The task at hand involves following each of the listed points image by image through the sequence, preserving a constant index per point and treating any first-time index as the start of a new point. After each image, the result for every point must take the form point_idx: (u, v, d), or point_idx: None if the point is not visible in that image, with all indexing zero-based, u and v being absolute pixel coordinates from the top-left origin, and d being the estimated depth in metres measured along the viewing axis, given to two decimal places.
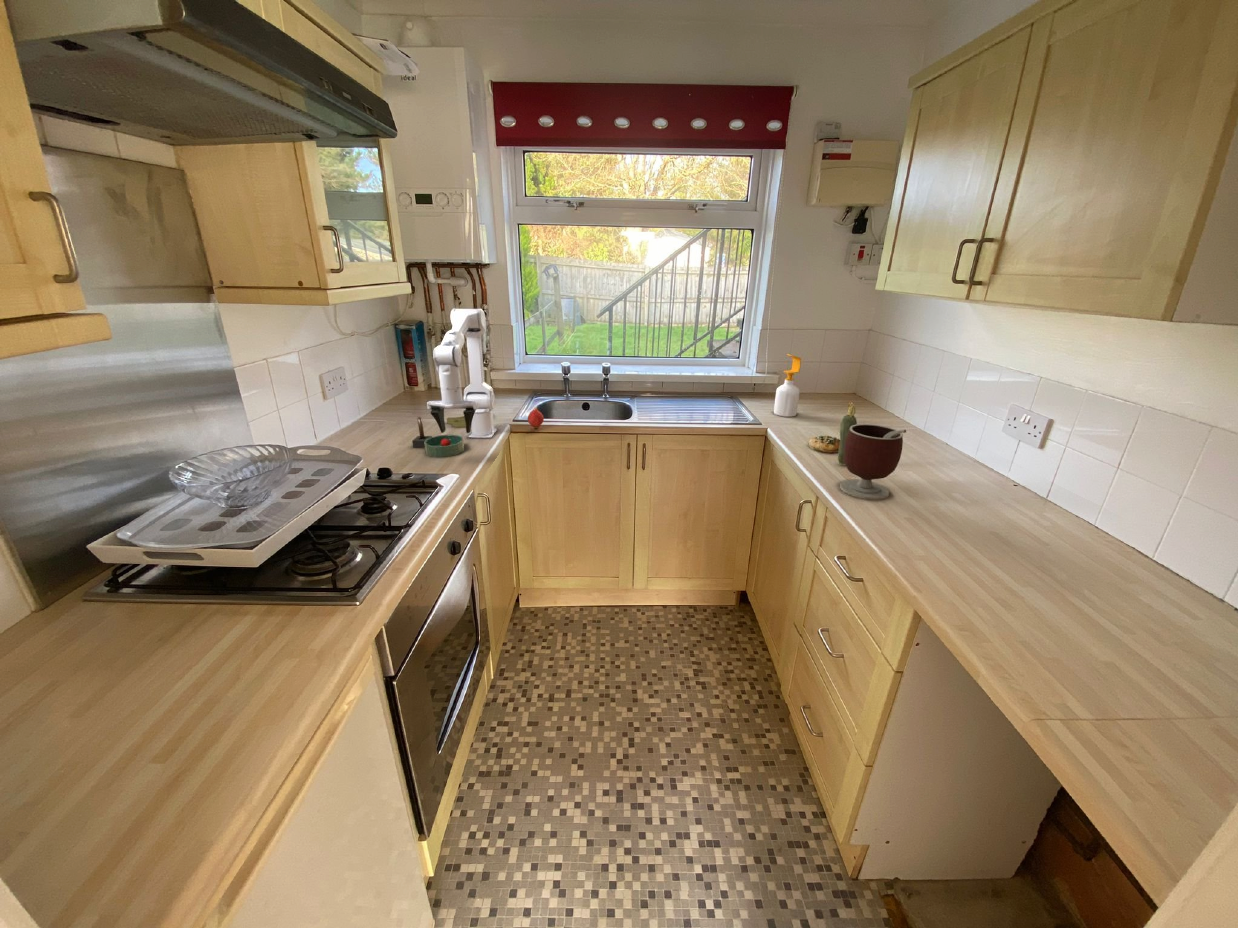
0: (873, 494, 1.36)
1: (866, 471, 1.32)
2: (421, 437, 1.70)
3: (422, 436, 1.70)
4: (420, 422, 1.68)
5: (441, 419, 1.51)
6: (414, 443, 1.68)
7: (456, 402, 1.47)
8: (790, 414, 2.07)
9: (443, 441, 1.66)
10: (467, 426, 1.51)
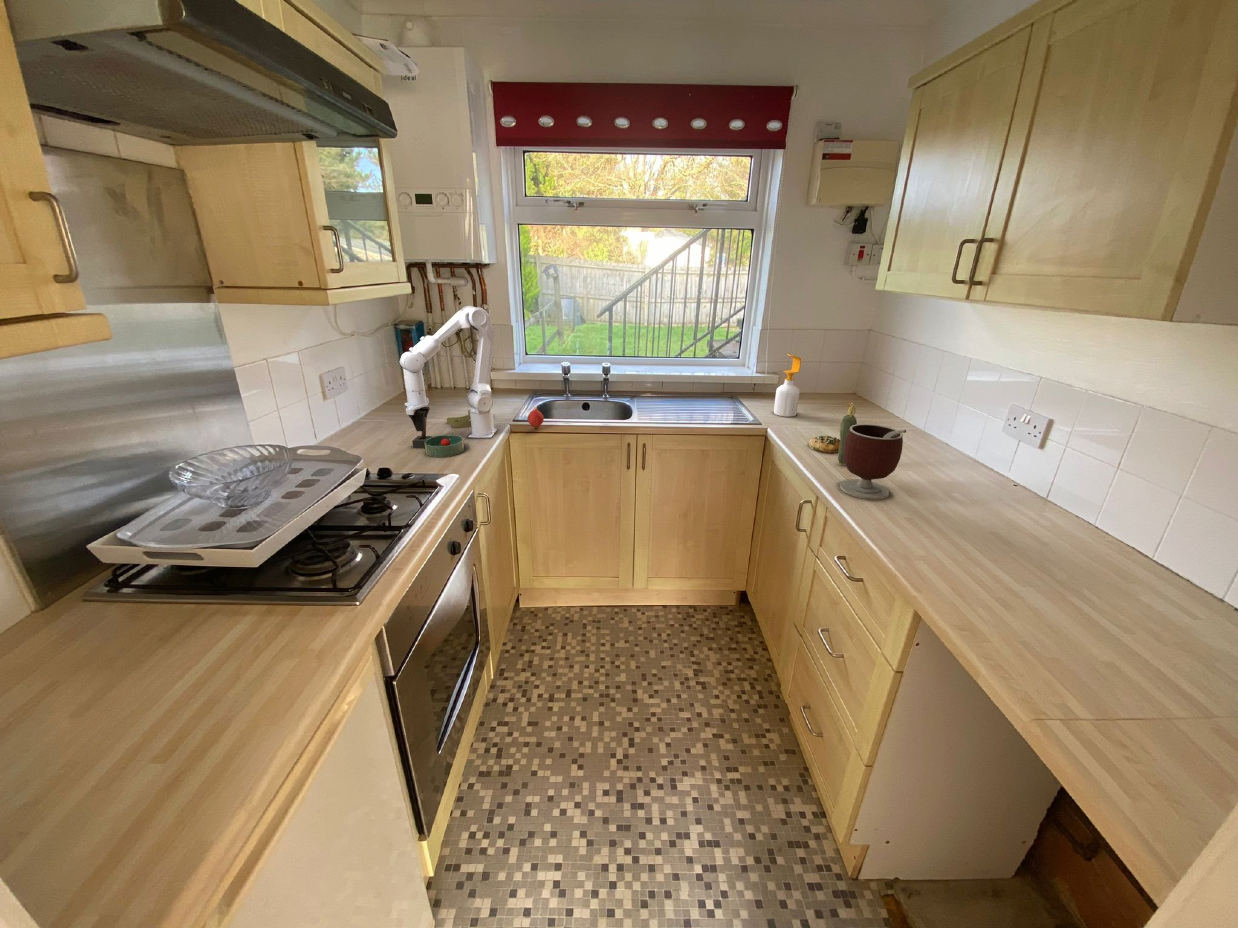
0: (873, 494, 1.36)
1: (866, 471, 1.32)
2: (422, 437, 1.70)
3: (424, 436, 1.70)
4: (424, 423, 1.68)
5: None
6: (414, 443, 1.68)
7: (408, 403, 1.64)
8: (790, 414, 2.07)
9: (443, 441, 1.66)
10: None
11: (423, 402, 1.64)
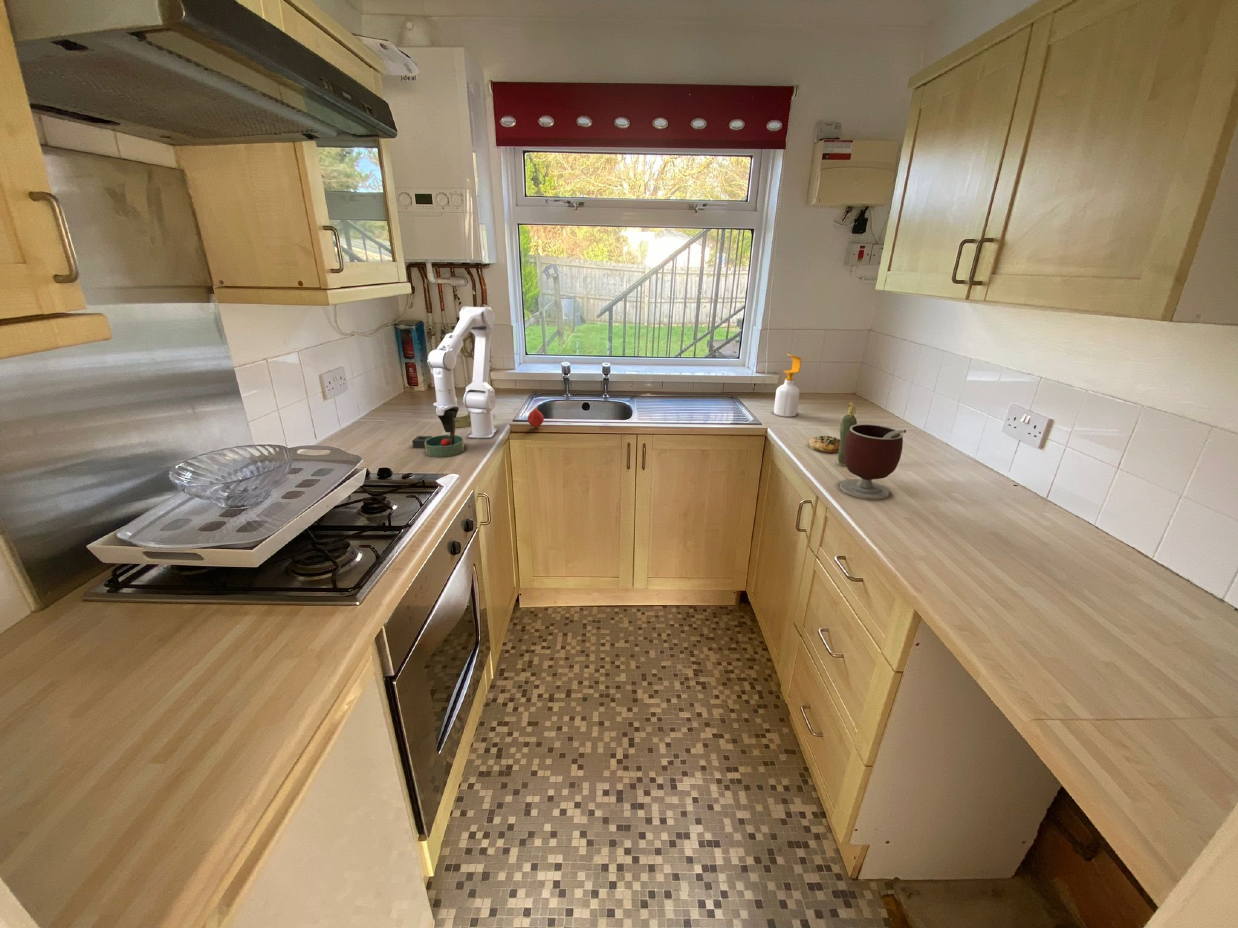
0: (873, 494, 1.36)
1: (866, 471, 1.32)
2: (451, 439, 1.63)
3: (452, 438, 1.63)
4: (453, 423, 1.61)
5: None
6: (414, 443, 1.68)
7: (437, 403, 1.57)
8: (790, 414, 2.07)
9: (443, 441, 1.66)
10: None
11: (452, 402, 1.58)
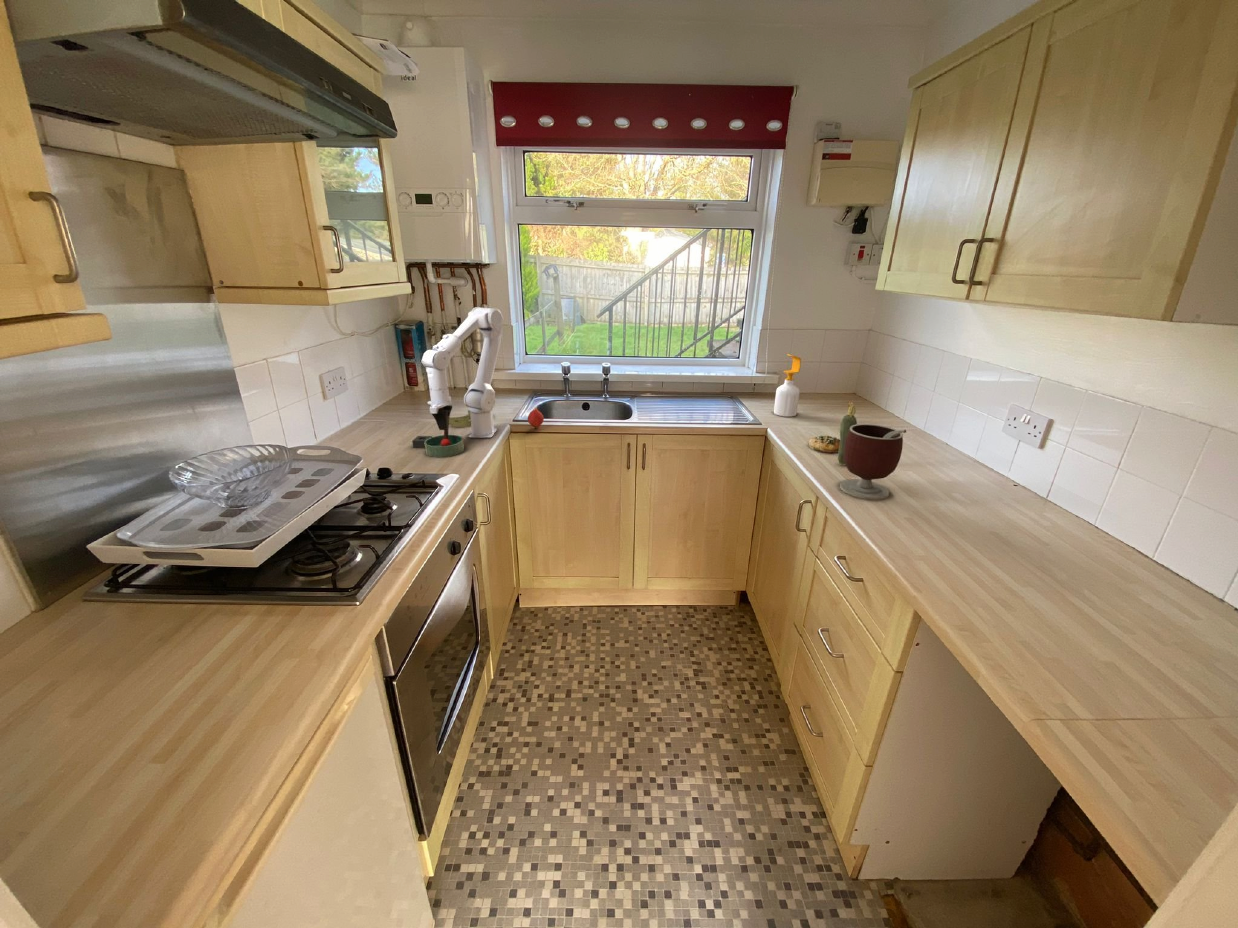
0: (873, 494, 1.36)
1: (866, 471, 1.32)
2: (445, 436, 1.68)
3: (446, 435, 1.68)
4: (447, 421, 1.66)
5: None
6: (414, 443, 1.68)
7: (431, 401, 1.62)
8: (790, 414, 2.07)
9: (443, 441, 1.66)
10: None
11: (446, 400, 1.63)
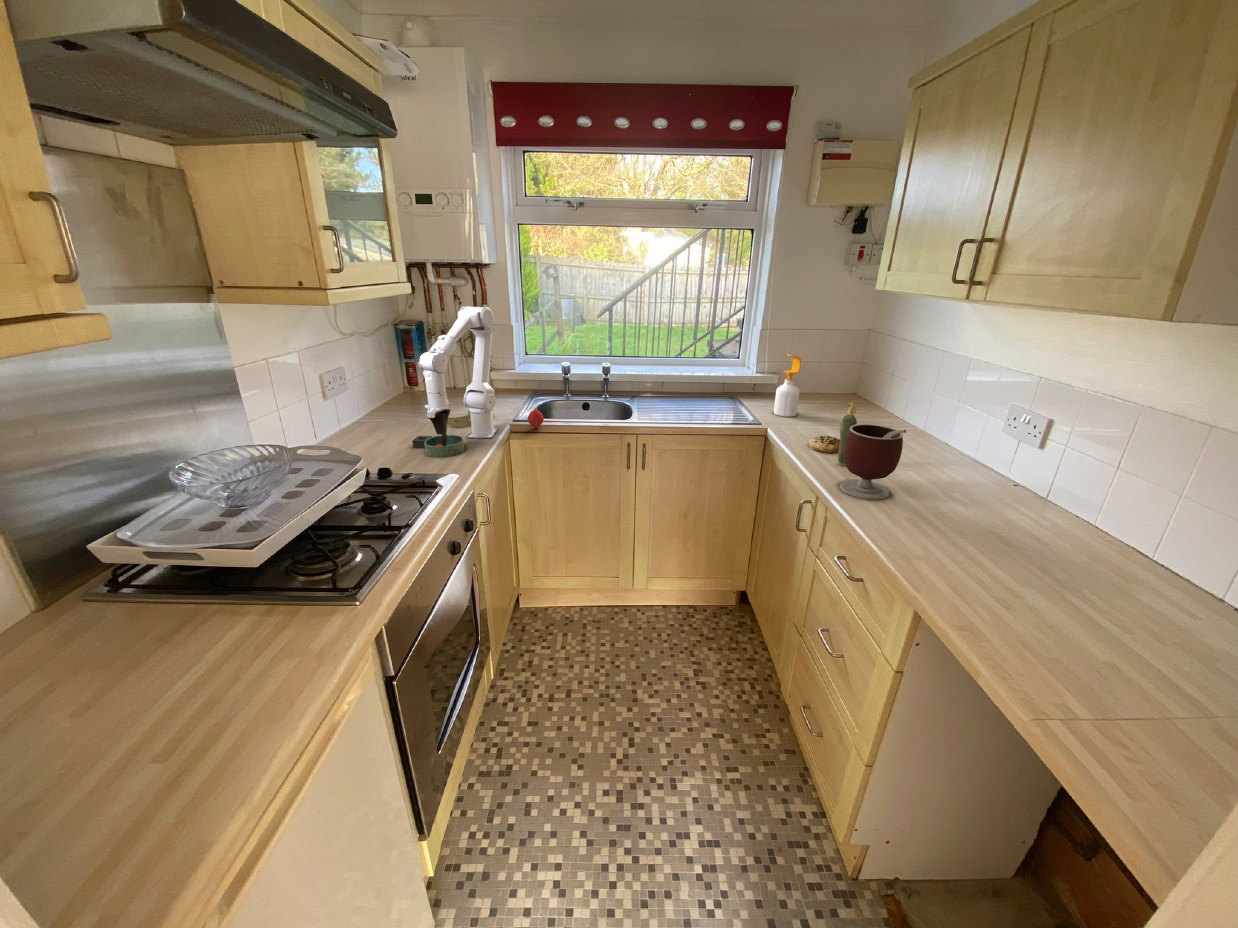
0: (873, 494, 1.36)
1: (866, 471, 1.32)
2: (443, 441, 1.63)
3: (444, 440, 1.63)
4: (445, 425, 1.62)
5: None
6: (414, 443, 1.68)
7: (428, 405, 1.58)
8: (790, 414, 2.07)
9: None
10: None
11: (444, 404, 1.58)
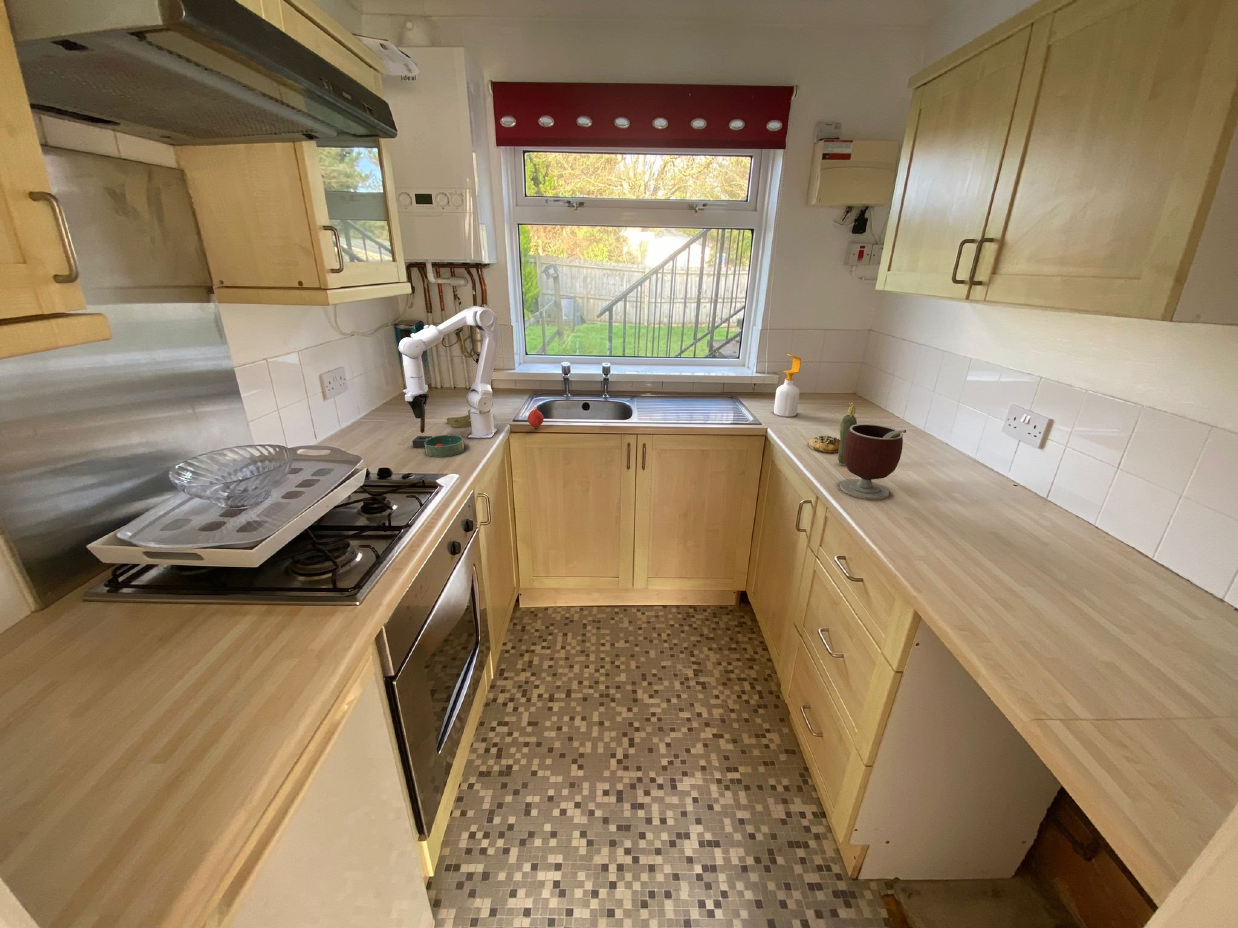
0: (873, 494, 1.36)
1: (866, 471, 1.32)
2: (421, 424, 1.68)
3: (423, 424, 1.68)
4: (423, 410, 1.66)
5: None
6: (414, 443, 1.68)
7: (407, 389, 1.62)
8: (790, 414, 2.07)
9: None
10: None
11: (422, 388, 1.62)
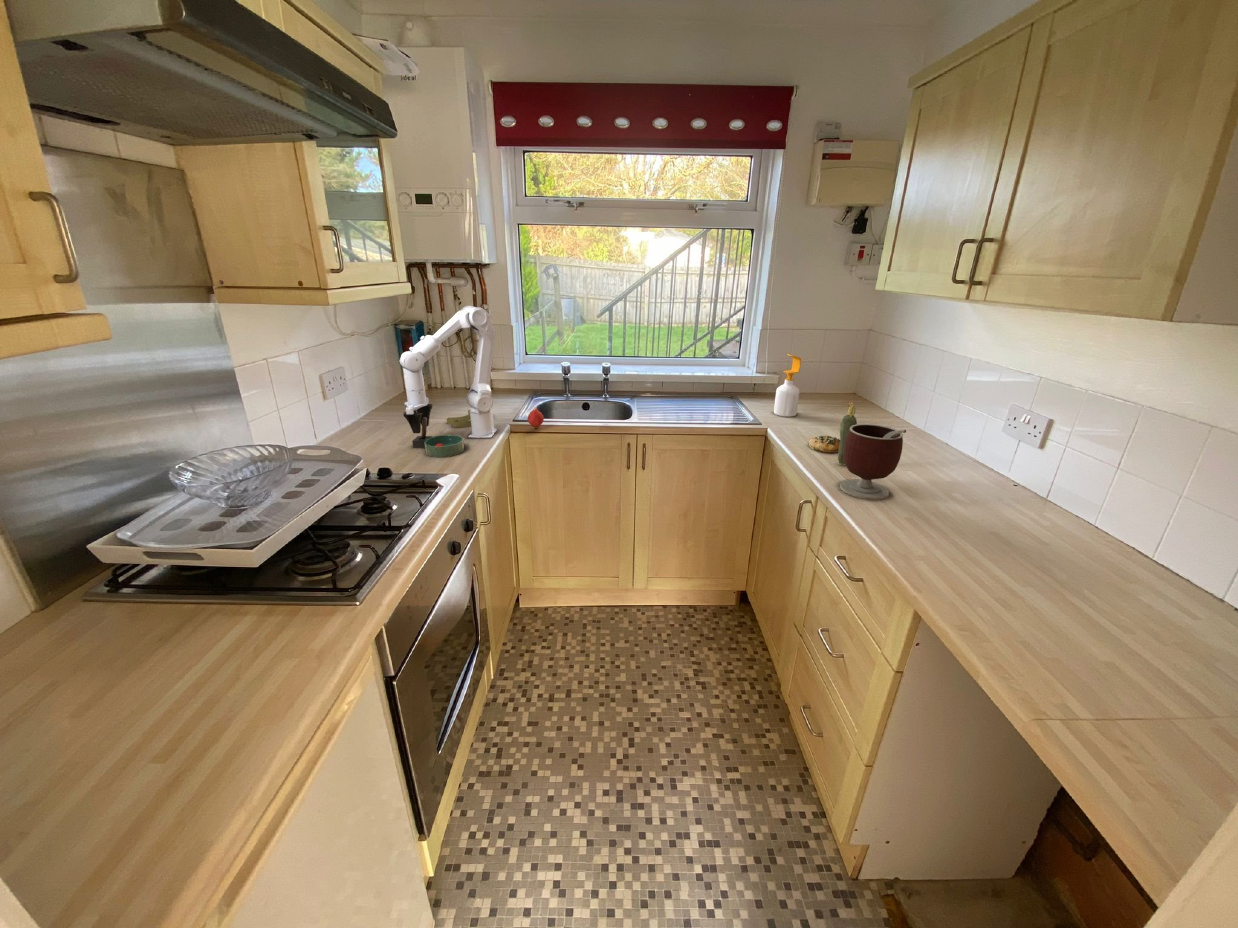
0: (873, 494, 1.36)
1: (866, 471, 1.32)
2: (422, 437, 1.70)
3: (424, 436, 1.70)
4: (425, 423, 1.68)
5: (421, 414, 1.71)
6: (414, 443, 1.68)
7: (408, 402, 1.64)
8: (790, 414, 2.07)
9: None
10: None
11: (422, 401, 1.64)
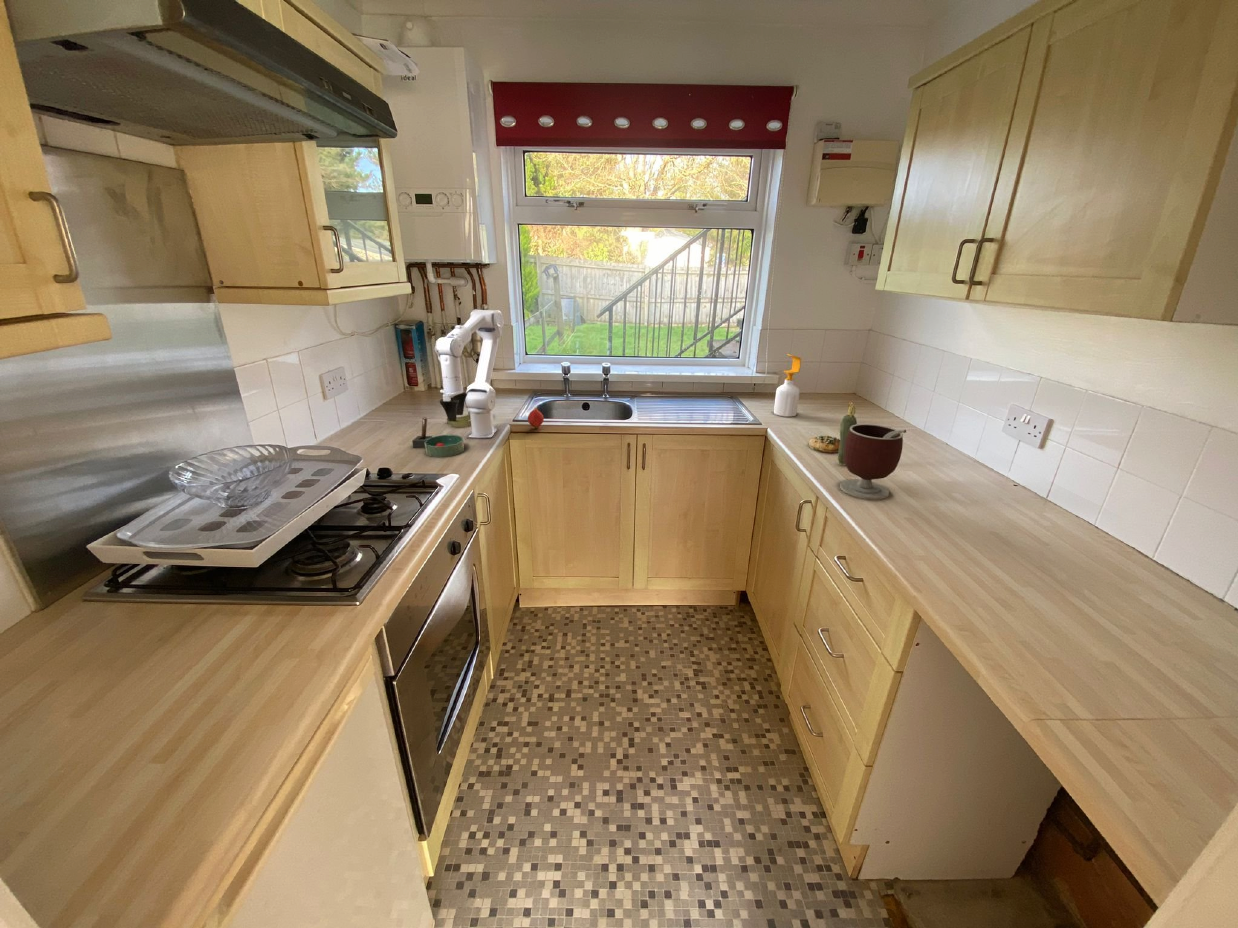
0: (873, 494, 1.36)
1: (866, 471, 1.32)
2: (422, 437, 1.70)
3: (424, 436, 1.70)
4: (425, 423, 1.68)
5: None
6: (414, 443, 1.68)
7: (444, 389, 1.60)
8: (790, 414, 2.07)
9: None
10: None
11: (459, 389, 1.60)
